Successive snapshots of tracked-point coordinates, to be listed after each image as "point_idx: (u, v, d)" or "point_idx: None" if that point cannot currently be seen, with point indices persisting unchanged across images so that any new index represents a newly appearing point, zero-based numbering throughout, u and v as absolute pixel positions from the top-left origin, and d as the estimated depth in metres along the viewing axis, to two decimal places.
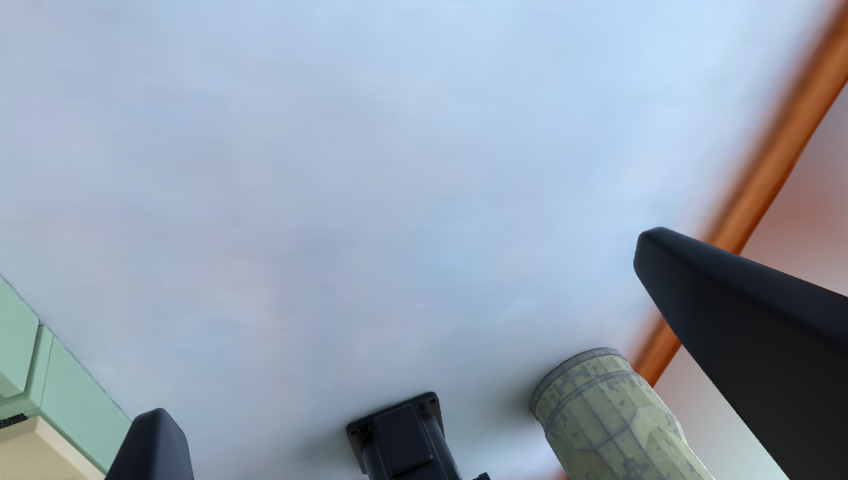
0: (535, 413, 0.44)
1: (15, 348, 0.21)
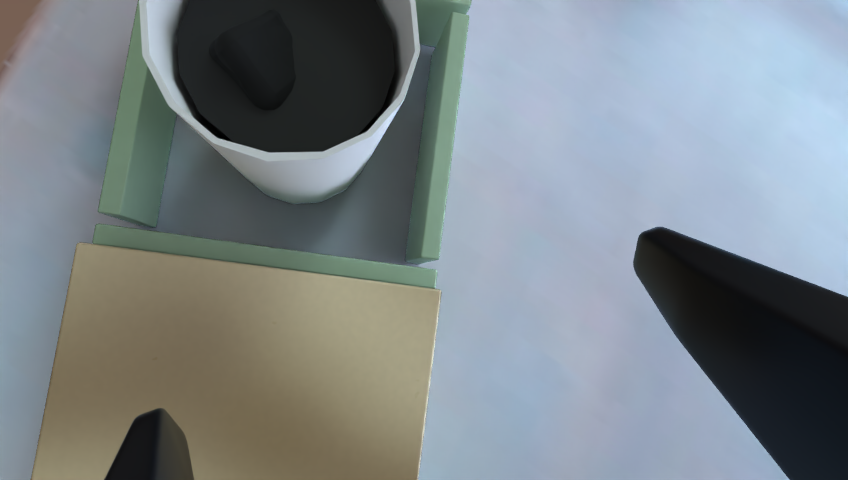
0: None
1: None
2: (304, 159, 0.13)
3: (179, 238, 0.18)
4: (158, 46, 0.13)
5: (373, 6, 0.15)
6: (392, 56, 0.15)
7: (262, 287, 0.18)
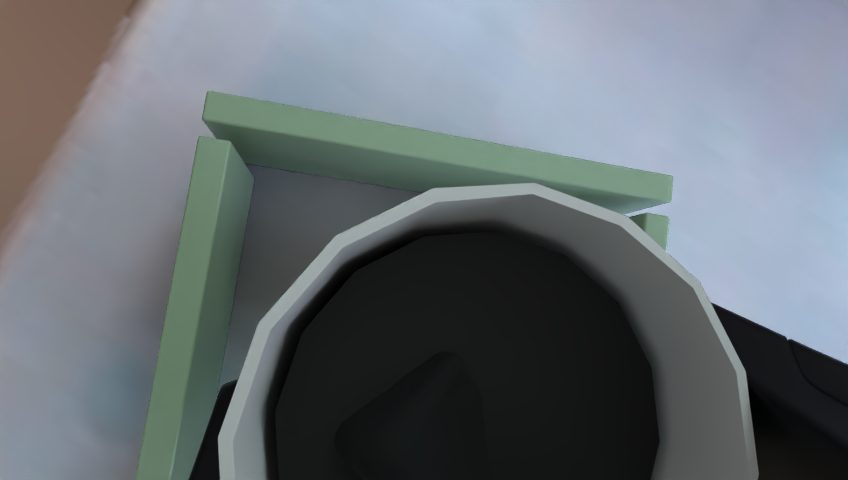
0: None
1: None
2: None
3: None
4: None
5: (619, 324, 0.08)
6: (653, 415, 0.08)
7: None
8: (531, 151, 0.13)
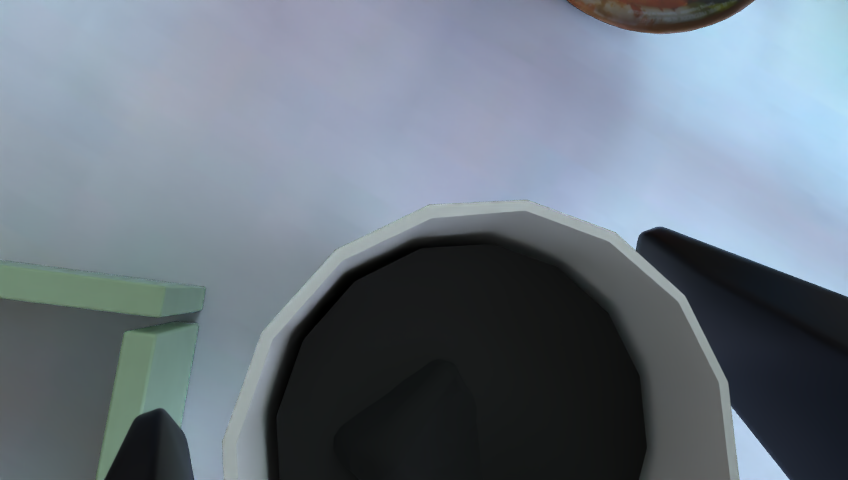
0: None
1: None
2: None
3: None
4: None
5: (609, 334, 0.09)
6: (641, 422, 0.09)
7: None
8: None
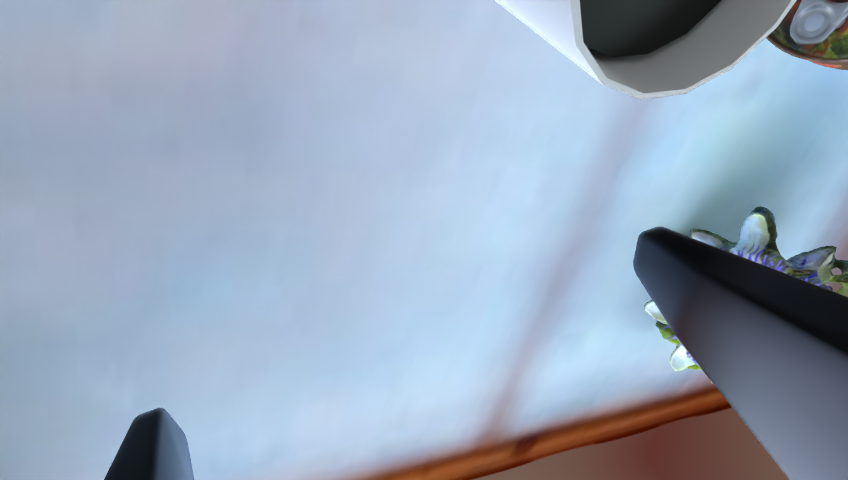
0: None
1: None
2: (572, 24, 0.11)
3: None
4: None
5: (711, 4, 0.14)
6: (661, 45, 0.14)
7: None
8: None
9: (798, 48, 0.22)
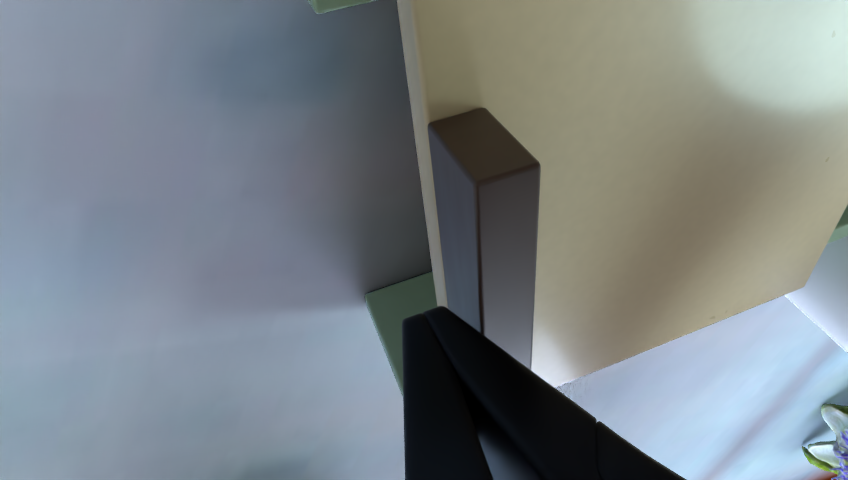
0: None
1: None
2: None
3: None
4: None
5: None
6: None
7: None
8: None
9: None
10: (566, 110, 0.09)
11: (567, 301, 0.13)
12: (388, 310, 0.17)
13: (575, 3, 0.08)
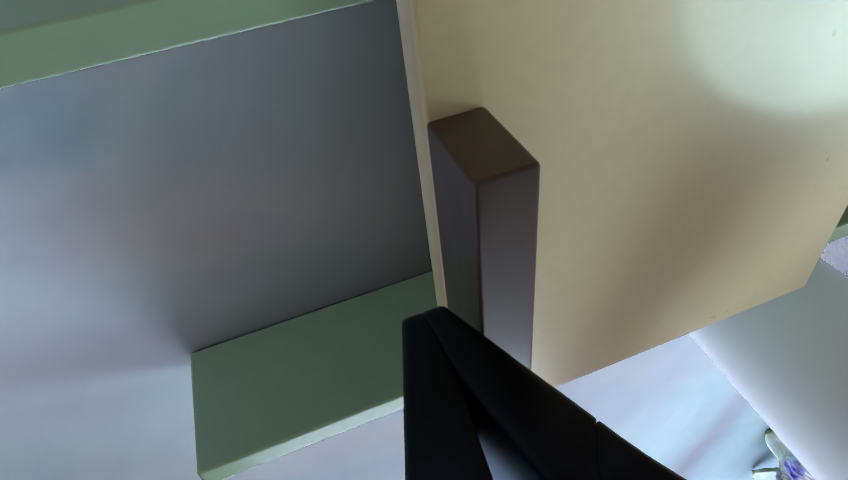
0: None
1: None
2: None
3: None
4: None
5: None
6: None
7: None
8: None
9: None
10: (566, 110, 0.09)
11: (567, 300, 0.13)
12: (208, 372, 0.16)
13: (574, 2, 0.08)
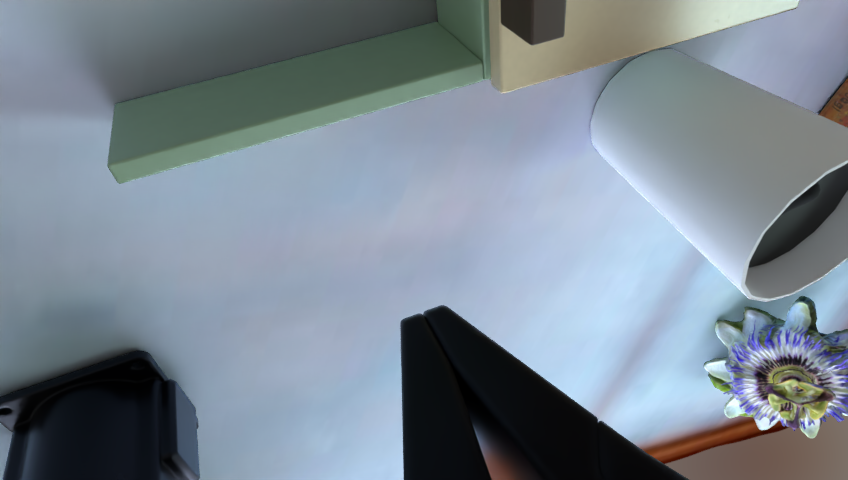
0: None
1: None
2: (741, 277, 0.19)
3: None
4: None
5: (807, 235, 0.22)
6: (774, 258, 0.22)
7: None
8: None
9: None
10: None
11: None
12: (128, 112, 0.17)
13: None
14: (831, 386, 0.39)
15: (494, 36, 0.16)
